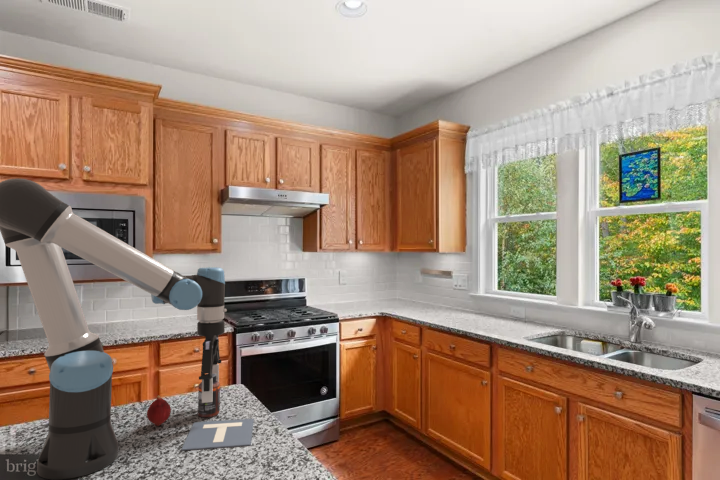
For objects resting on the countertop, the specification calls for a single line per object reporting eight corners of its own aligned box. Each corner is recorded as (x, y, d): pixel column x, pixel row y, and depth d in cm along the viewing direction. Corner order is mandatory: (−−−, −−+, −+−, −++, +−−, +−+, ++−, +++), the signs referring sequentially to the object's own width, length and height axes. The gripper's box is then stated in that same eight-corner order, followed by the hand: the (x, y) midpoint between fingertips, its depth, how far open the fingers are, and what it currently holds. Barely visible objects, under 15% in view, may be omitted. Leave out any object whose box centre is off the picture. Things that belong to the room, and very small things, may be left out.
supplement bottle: (215, 408, 127) (216, 370, 127) (222, 415, 122) (223, 375, 123) (194, 413, 123) (195, 374, 123) (201, 420, 119) (202, 379, 119)
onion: (174, 422, 117) (175, 392, 117) (162, 430, 111) (163, 400, 111) (154, 420, 118) (155, 391, 118) (142, 429, 112) (142, 399, 112)
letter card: (181, 450, 101) (181, 448, 101) (193, 423, 116) (194, 421, 116) (250, 445, 104) (250, 443, 104) (253, 419, 119) (253, 418, 119)
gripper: (219, 328, 112) (218, 408, 112) (229, 313, 136) (228, 379, 136) (188, 329, 110) (188, 411, 110) (204, 314, 135) (204, 380, 135)
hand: (210, 393), depth 123 cm, fingers open, 13 cm apart
